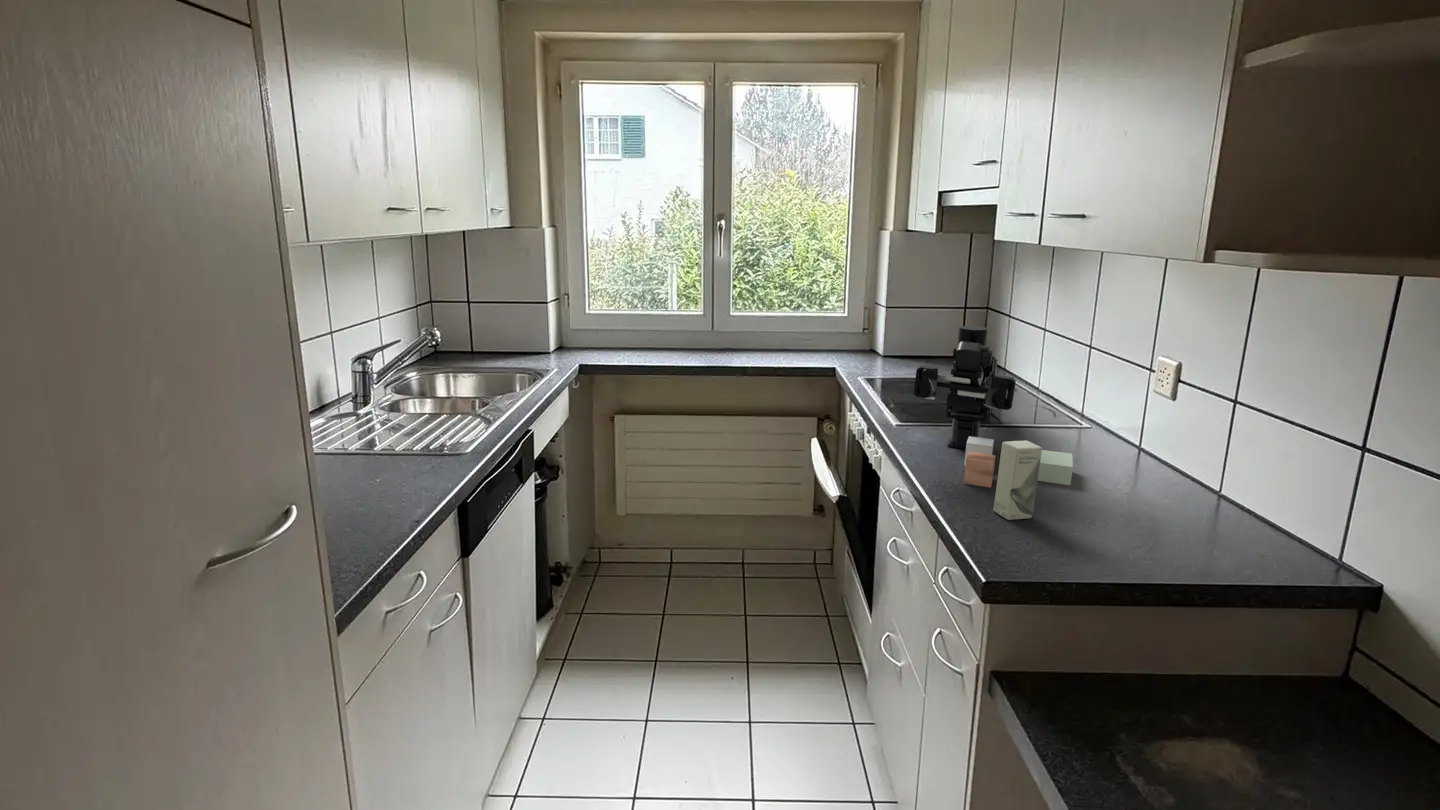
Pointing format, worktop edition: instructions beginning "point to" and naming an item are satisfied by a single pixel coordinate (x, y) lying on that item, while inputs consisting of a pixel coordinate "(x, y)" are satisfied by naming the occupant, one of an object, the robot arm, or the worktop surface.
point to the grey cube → (979, 446)
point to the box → (1017, 479)
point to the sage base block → (1055, 467)
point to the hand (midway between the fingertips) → (959, 397)
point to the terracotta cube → (979, 469)
